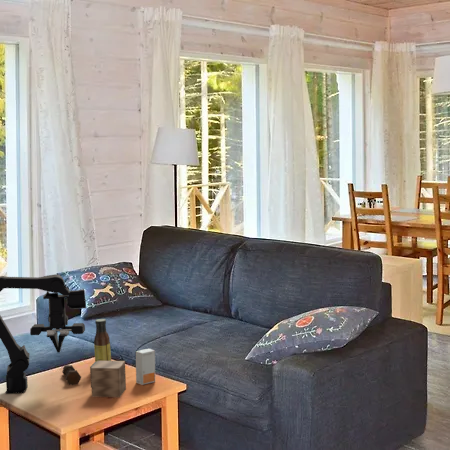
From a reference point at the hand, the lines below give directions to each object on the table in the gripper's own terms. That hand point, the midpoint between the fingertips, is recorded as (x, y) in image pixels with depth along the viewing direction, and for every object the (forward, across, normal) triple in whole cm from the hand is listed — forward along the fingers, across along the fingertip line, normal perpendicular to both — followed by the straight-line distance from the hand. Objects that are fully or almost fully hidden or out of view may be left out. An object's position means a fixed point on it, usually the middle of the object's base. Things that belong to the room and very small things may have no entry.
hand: (58, 352), depth 265 cm
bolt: (+13, -2, -10) cm, 17 cm away
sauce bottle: (+13, -13, -21) cm, 28 cm away
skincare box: (+13, -31, -3) cm, 34 cm away
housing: (+13, -19, +8) cm, 24 cm away
